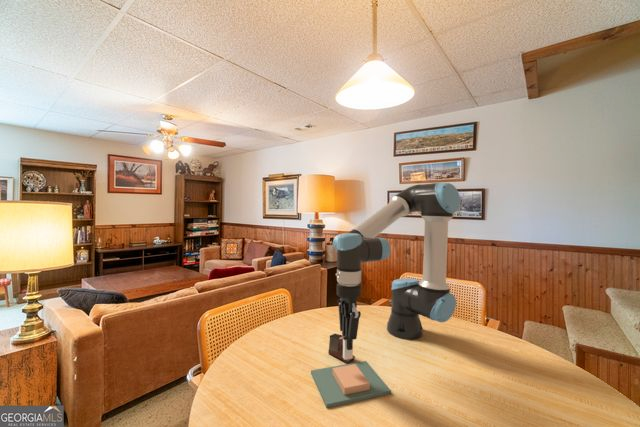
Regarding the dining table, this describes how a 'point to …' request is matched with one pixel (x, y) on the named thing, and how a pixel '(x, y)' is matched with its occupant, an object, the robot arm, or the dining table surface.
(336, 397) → the mat
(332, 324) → the dining table surface
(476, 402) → the dining table surface
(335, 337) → the electronic device
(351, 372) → the tile
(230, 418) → the dining table surface
